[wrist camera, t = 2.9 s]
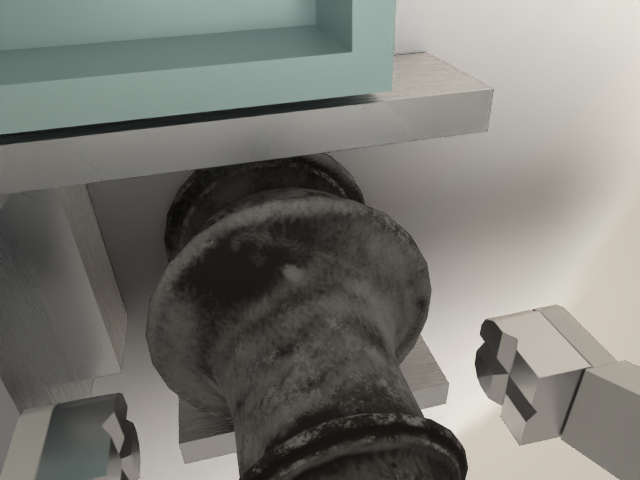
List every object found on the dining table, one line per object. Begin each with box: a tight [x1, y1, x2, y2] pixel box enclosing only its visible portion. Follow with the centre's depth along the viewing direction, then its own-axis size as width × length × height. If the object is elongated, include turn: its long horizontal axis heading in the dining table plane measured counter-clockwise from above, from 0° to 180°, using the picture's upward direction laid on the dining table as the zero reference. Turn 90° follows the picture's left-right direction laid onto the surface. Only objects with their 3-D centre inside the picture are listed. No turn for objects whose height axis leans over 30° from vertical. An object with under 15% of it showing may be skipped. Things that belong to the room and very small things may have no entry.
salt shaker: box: [146, 153, 468, 480], centre depth 8 cm, size 6×6×12 cm
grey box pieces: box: [0, 52, 494, 474], centre depth 11 cm, size 15×9×4 cm, turn 92°
